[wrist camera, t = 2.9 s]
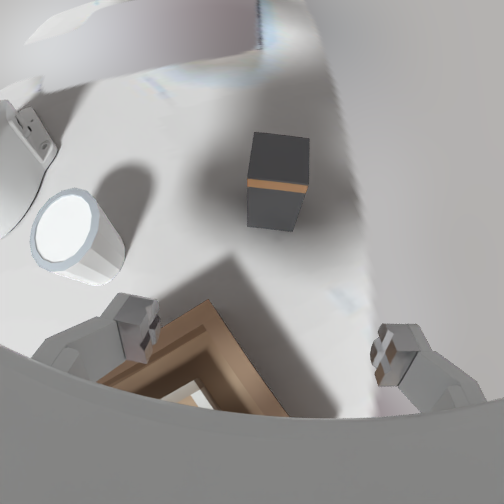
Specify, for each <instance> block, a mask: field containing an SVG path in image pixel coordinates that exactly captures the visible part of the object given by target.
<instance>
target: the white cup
mask: <svg viewBox="0 0 504 504" xmlns="http://www.w3.org/2000/svg"><path fill="white" fill-rule="evenodd" d="M30 247H31V253H32V256H33V258H34V259H35V261H36V262H37V264H38V265H39V267H41V268H43V269H45V270H47V271H50V272H52V273H55V274H58V275H61V276H64V277H67V278H70V279H73V280H76V281H79V282H83V283H86V284H89V285H92V286H97V285H104V284H106V283H108V282H110V281H111V280H113V279H114V278H115V277H116V275H117V274H118V273H119V272H120V271H121V268H122V266H123V263H124V260H125V246H124V244H123V241H122V238H121V237H120V235H119V234H118V232H117V231H116V230H115V228H114V227H113V225H112V224H111V222H110V221H109V219H108V218H107V216H106V215H105V213H104V212H103V210H102V209H101V207H100V206H99V204H98V202H97V201H96V199H95V198H94V197H93V196H92V195H91V194H90V193H89V192H88V191H86V190H82V189H78V188H72V189H68V190H63V191H61V192H59V193H58V194H56V195H55V196H53V197H51V198H50V199H49V200H48V201H47V202H46V203H45V205H44V206H43V207H42V208H41V209H40V210H39V212H38V214H37V216H36V218H35V221H34V223H33V225H32V229H31V236H30Z"/></svg>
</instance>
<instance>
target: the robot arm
mask: <svg viewBox="0 0 504 504" xmlns="http://www.w3.org/2000/svg"><path fill="white" fill-rule="evenodd" d="M56 153H57V147H56V145H55V144H54V142H53V141H52V139H51V137H50V136H49V134H48V132H47V131H46V129H45V127H44V126H43V124H42V122H41V121H40V119H39V117H38V116H37V114H36V112H35V111H34V109H33V108H32V107H27V108H24V109H22V110H20V111H18V112H17V111H16V109H15V108H14V107H13V105H12V104H11V103H10V102H9V101H8V100H1V101H0V238H2V237H3V236H5V235H6V234H7V233H8V232H10V231H11V230H12V229H13V228H14V227H15V226H16V225H17V223H18V222H19V221H20V220H21V218H22V217H23V216H24V214H25V213H26V211H27V210H28V208H29V207H30V205H31V203H32V201H33V199H34V198H35V195H36V193H37V191H38V189H39V186H40V183H41V180H42V177H43V175H44V172H45V170H46V169H47V167H48V166H49V165H50V163H51V162H52V160H53V159H54V157H55V155H56ZM158 311H159V303H158V301H157V299H152V298H147V297H142V296H137V295H131V294H126V293H118V294H117V295H116V296H115V297H114V299H113V300H112V301H111V303H110V304H109V305H108V307H107V308H106V309H105V311H104V312H103V313H102V315H101V316H100V317H94V318H92V319H90V320H87V321H85V322H83V323H80V324H78V325H76V326H74V327H71V328H69V329H67V330H65V331H62V332H60V333H58V334H56V335H53V336H51V337H49V338H47V339H45V341H44V342H43V343H42V345H41V346H40V347H39V348H38V350H37V351H36V352H35V353H34V355H33V356H32V357H31V358H29V357H27V356H24V355H22V354H20V353H18V352H15V351H13V350H11V349H9V348H7V347H5V346H3V345H1V344H0V504H504V398H499V399H495V400H492V401H486V398H485V397H484V394H483V392H482V390H481V388H480V386H479V384H478V383H477V381H476V380H474V379H473V378H472V377H470V376H469V375H468V374H466V373H465V372H464V371H462V370H461V369H460V368H458V367H457V366H455V365H454V364H453V363H451V362H450V361H449V360H447V359H446V358H444V357H443V356H442V355H440V354H439V353H438V352H436V351H432V349H431V347H430V345H429V343H428V341H427V339H426V338H425V336H424V334H423V332H422V331H421V328H420V326H419V325H417V324H382V325H381V326H380V327H379V330H378V334H379V337H378V338H377V339H376V340H374V342H373V344H372V347H371V352H370V359H371V363H372V365H373V366H374V367H375V368H376V371H375V377H376V380H377V384H378V386H379V387H382V386H384V387H385V386H398V388H399V389H400V390H401V391H402V392H403V394H404V395H405V396H406V397H407V398H408V399H409V400H410V401H411V402H412V403H413V404H414V406H415V407H416V408H417V409H418V410H419V411H420V412H421V413H418V414H409V415H399V416H389V417H388V416H387V417H372V418H335V419H330V418H293V417H276V416H264V415H253V414H244V413H235V412H227V411H220V410H213V409H207V408H201V407H195V406H189V405H184V404H179V403H174V402H169V401H164V400H160V399H155V398H151V397H147V396H143V395H139V394H135V393H131V392H127V391H123V390H120V389H116V388H113V387H109V386H106V385H103V384H99V383H96V381H98V380H99V379H101V378H102V377H103V376H105V375H106V374H108V373H109V372H111V371H112V370H113V369H115V368H116V367H118V366H119V365H120V364H122V363H123V362H125V360H130V361H135V362H140V363H145V364H147V363H148V361H149V359H150V356H151V354H152V352H153V349H152V345H154V344H156V343H157V341H158V339H159V335H160V331H161V321H160V318H159V317H158V315H157V312H158Z"/></svg>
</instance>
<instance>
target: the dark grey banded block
mask: <svg viewBox="0 0 504 504" xmlns="http://www.w3.org/2000/svg"><path fill="white" fill-rule="evenodd" d="M308 184H309V138H302V137H294V136H286V135H278V134H269V133H259V132H254V137H253V143H252V150H251V157H250V163H249V170H248V177H247V227H256V228H265V229H274V230H283V231H291V232H292V231H293V228H294V226H295V223H296V220H297V217H298V214H299V211H300V208H301V205H302V202H303V199H304V196H305V193H306V191H307V188H308Z"/></svg>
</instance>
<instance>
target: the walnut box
mask: <svg viewBox="0 0 504 504" xmlns="http://www.w3.org/2000/svg"><path fill="white" fill-rule="evenodd" d="M152 349H153V352H152V354H151V356H150V359H149V361H148V363H147V364H145V363H140V362H135V361H130V360H125V362H123V363H122V364H120V365H119V366H118V367H116V368H115V369H113V370H112V371H111V372H109V373H108V374H106V375H105V376H103V377H102V378H101V379H99V380H98V381H96V383H99V384H103V385H106V386H109V387H113V388H116V389H120V390H123V391H127V392H131V393H135V394H139V395H143V396H147V397H151V398H155V399H160V400H164V401H169V402H174V403H179V404H184V405H189V406H195V407H201V408H207V409H213V410H220V411H227V412H235V413H244V414H253V415H264V416H276V417H289V415H288V414H287V413H286V411H285V410H284V409H283V407H282V406H281V404H280V403H279V402H278V400H277V399H276V397H275V396H274V395H273V393H272V392H271V390H270V389H269V388H268V386H267V385H266V383H265V382H264V381H263V379H262V378H261V376H260V375H259V373H258V372H257V371H256V369H255V368H254V366H253V365H252V363H251V362H250V360H249V359H248V357H247V356H246V354H245V353H244V352H243V350H242V349H241V347H240V346H239V344H238V343H237V341H236V340H235V338H234V337H233V335H232V334H231V332H230V330H229V329H228V327H227V326H226V324H225V323H224V321H223V320H222V318H221V317H220V315H219V314H218V312H217V310H216V309H215V308H214V306H213V305H212V303H211V302H210V301H209V299H207V300H206V301H204V302H203V303H201V304H199V305H198V306H196V307H195V308H193V309H191V310H190V311H188V312H187V313H185V314H183V315H182V316H180V317H178V318H177V319H175V320H174V321H172V322H170V323H169V324H167V325H165V326H164V327H162V328H161V331H160V335H159V339H158V341H157V343H156V344H154V345H152Z"/></svg>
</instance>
